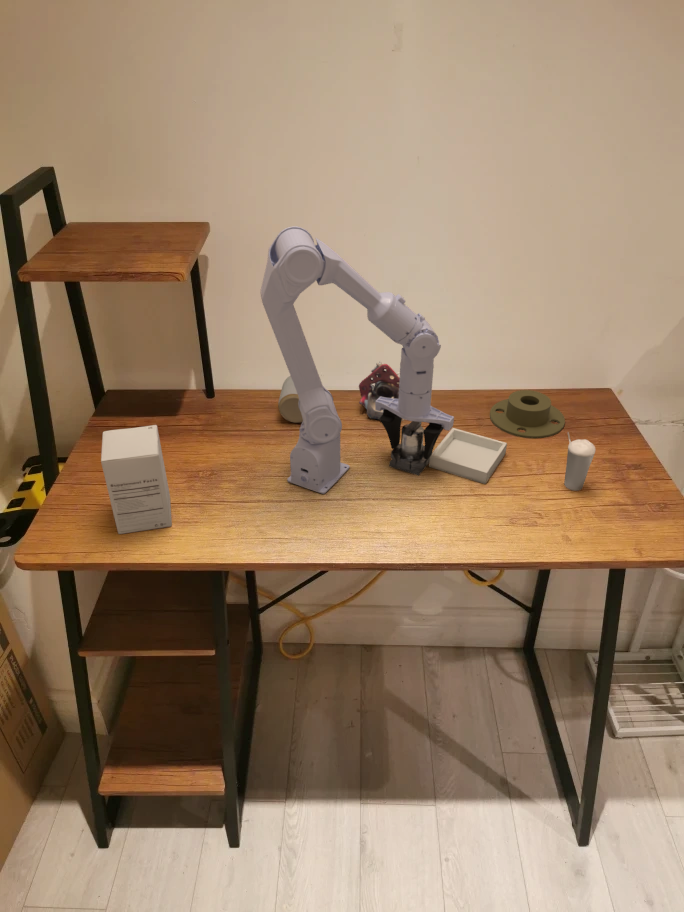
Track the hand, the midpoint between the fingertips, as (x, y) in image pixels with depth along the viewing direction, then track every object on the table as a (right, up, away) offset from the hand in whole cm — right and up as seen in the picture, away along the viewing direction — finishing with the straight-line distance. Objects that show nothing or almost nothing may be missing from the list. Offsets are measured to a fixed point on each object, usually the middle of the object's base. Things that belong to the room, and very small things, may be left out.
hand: (411, 451), depth 133 cm
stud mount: (0, -2, +1) cm, 3 cm away
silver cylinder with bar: (0, -1, +1) cm, 2 cm away
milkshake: (+28, -6, -4) cm, 29 cm away
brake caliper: (-4, +9, +17) cm, 20 cm away
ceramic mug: (-21, +8, +16) cm, 27 cm away
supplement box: (-46, -11, -11) cm, 49 cm away
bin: (+11, -2, +2) cm, 11 cm away
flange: (+25, +6, +15) cm, 30 cm away
